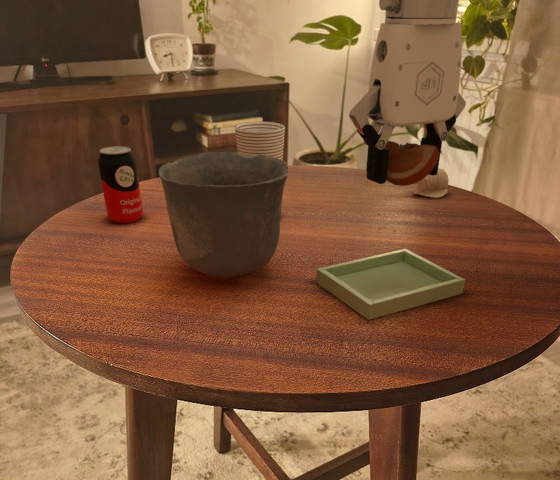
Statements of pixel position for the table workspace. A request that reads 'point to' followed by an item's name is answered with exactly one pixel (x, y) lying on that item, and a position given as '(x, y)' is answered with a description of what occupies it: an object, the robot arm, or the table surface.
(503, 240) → the table surface
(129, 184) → the beverage can
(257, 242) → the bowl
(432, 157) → the fruit slice
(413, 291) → the serving tray
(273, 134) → the cup
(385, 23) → the robot arm
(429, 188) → the decorative ornament
